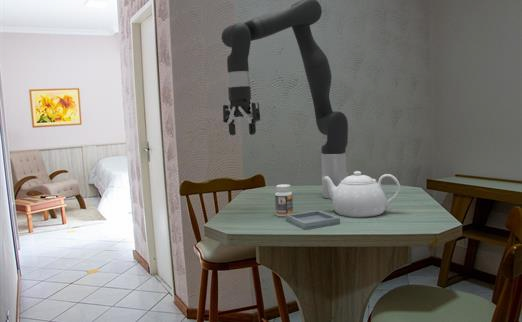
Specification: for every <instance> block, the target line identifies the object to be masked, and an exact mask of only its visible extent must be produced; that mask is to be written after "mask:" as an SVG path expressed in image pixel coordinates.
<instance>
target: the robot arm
mask: <svg viewBox="0 0 522 322" xmlns="http://www.w3.org/2000/svg"><path fill="white" fill-rule="evenodd" d="M322 12H323V10H322V6H321V4H320V2H319V1H318V0H299V1H296V2H295V3H293V4H291V6H290V7H289V8H285V9H282V10H279V11H275V12H271V13H268V14H263V15H261V16H257V17H253V18H251V19H250V20H247V21H244V22H236V23H234V24H231V25H228V26H226V27H225V28H223V30H222V32H221V41H222V44H224V45H225V46H226V47H228V48H231V52H230V54H229V55H228V56H227V58H226V66H227V68H226V69H227V90H228V91H227V93H228V95H227V96H228V101H229V102H230V104H223V105H222V117H223V118H222V119H223V120H222V121H223V123H226V124H228V133H229V135H230V136H236V121H237V119H239V118H240V117H242V118H243V117H244V118H245V119H246V120H247V121H248V132H249V133H248V134H249V135H251V136H253V135H256V131H257V130H256V123H257V122H259V121H261V112H260V104H259V102H251V100H252V89H251V77H250V72H249V71H250V69H249V68H250V67H249V56H250V49H251V42H252V41H257V40H261V39H263V38H266V37H267V38H268V37H269V36H273V35H275V34H277V33H279V32H282V31H284V30H287V29H289V28H291V29H292V31H293V33H294V37H295V39H296V42H297V46H298V49H299V53H300V56H301V59H302V64H303V69H304V72H305V76H306V80H307V82H308V86H309V87H308V88H309V92H310V95H311V98H312V103H313V108H314V109H313V110H314V116H315V122H316V127H317V129H318V131H319V132H320V133H321V135H324V136H326V143H324V144H323V145H322V146H321V152H320V153H321V179H323V178H324V177H325V176H328V177H329V178H330V179H331V180H332V182H333V184H334V185H335V186H336V187H337V186H338V185H339V184H340V183H341V181H342V180H343V179H344V178H346V177H348V176H349V172H348V171H347V166H346V165H347V163H346V162H347V161H346V154H347V153H346V148H347V146H348V140H349V139H348V138H349V137H348V136H349V135H348V134H349V123H348V121H349V120H348V117H347V116H346V115H345V113H343V112H342V111H336V110H335V111H333V108H332V103H331V101H330V91H331V85H332V71H331V68H330V67H331V66H330V62H329V60H328V58H327V55H326V53H324V51H323V50H322V49H321V47H320V46H319V44H318V43H317V42H316V40H315V39H314V36H313V34H312V31H311V26H312V25H314V24H316V23H317V22H319V20H320V18H321V17H322ZM321 182H322V183H321V185H322V186H321V187H322V188H321V189H322V190H321V191H322V197H323V198H325V199H331V198H330V195H329V192H328V186H327V184H326V182H325V181H322V180H321Z"/></svg>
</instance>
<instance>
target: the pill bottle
mask: <svg viewBox="0 0 522 322" xmlns="http://www.w3.org/2000/svg"><path fill="white" fill-rule="evenodd" d="M275 190H276V192H275V194H274V197H275V198H274V205H275V215H276V216H277V217H285V218H286V215H290V214H294V204H293V203H294V202H293V201H294V200H293V192H292V191H291V184H288V183H287V184H286V183H285V184H283V183H282V184H277V185H276V186H275Z"/></svg>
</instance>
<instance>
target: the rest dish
mask: <svg viewBox="0 0 522 322" xmlns="http://www.w3.org/2000/svg"><path fill="white" fill-rule="evenodd" d="M285 222H287V223H290V224H292V225H294V226H296V227H298V228H301V229H302V230H311V229H316V228H323V227H328V226H335V225H340V224H341V218H340V217H338V216H336V215H333V214H330V213H327V212H325V211H323V210H319V209H318V210H311V211H306V212H305V211H304V212H297V213H293V214H290V215H286V217H285Z"/></svg>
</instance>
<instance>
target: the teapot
mask: <svg viewBox="0 0 522 322" xmlns="http://www.w3.org/2000/svg"><path fill="white" fill-rule="evenodd" d="M385 178H390V179H392V180H393V181H394V183H395V184H396V192H395V193H394V195H392V196H391V197H390V198H388V199H387V197H386V193H385V191H384V189H383V188H382V187H383V185H382V180H383V179H385ZM320 181H321V182H322V181H325V182H326V184H327V186H328V192H329V195H330V198H331V201H332V205H333V206H332V207H333V209H334V212H335V213H336V214H338V215H340V216H343V217H349V218H369V217H377V216H379V215H381V214H383V213H384V212H385V211H386V210H387V209H388V208H389V206H390V203H391V202H392V201H393V200H394V199H396V198H397V197H398V195H399V194H400V192H401V185H400V182H399V180H398V179H397V177H396V176H394V175H393V174H390V173H385V174H382V175H381V176H380V177H379V178H378V181H377V179H375V178H372V177H371V176H369V175H365V174H362V172H361V171H359V170H356V171H353V174H352V175H348V177H346V178H344V179H343V180H342V181H341V183H340V184H339V185H338V186H337V187H336V186H335V185H334V184H333V182H332V180H331V179H330V178H329V177H328V176H325V177H324V178H323V179H322V178H321V179H320ZM330 198H329V199H330Z"/></svg>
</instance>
